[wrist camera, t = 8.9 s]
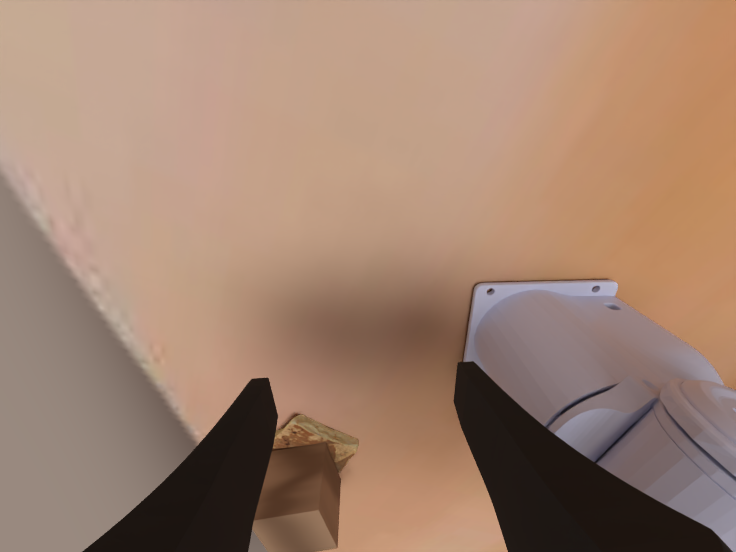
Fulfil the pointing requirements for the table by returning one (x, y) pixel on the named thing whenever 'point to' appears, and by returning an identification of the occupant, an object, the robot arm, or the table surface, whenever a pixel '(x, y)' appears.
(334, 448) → the shard
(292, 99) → the table surface
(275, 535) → the walnut cube
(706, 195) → the table surface
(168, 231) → the table surface
